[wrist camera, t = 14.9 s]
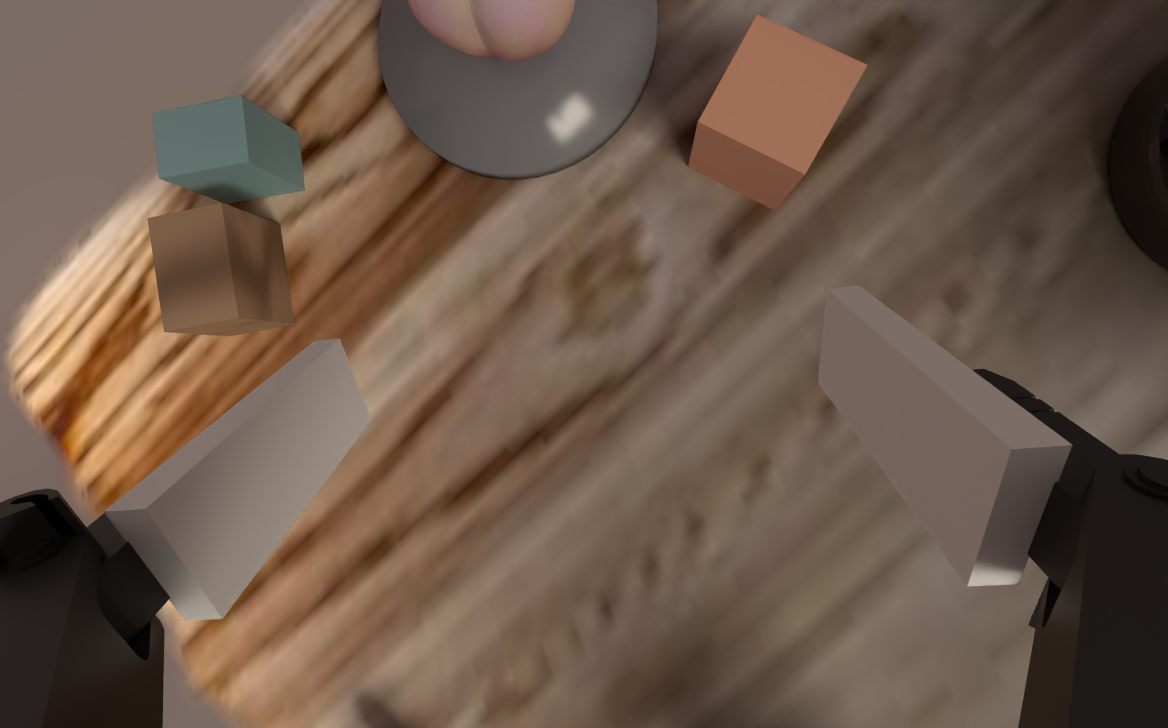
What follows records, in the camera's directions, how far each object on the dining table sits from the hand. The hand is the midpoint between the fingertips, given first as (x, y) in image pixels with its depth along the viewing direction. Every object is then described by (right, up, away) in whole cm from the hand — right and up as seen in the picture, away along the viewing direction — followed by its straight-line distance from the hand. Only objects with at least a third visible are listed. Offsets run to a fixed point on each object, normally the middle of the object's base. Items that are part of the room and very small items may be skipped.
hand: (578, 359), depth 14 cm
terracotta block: (+11, +13, +17) cm, 24 cm away
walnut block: (-23, +6, +21) cm, 32 cm away
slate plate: (-4, +21, +19) cm, 29 cm away
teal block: (-22, +13, +21) cm, 34 cm away
